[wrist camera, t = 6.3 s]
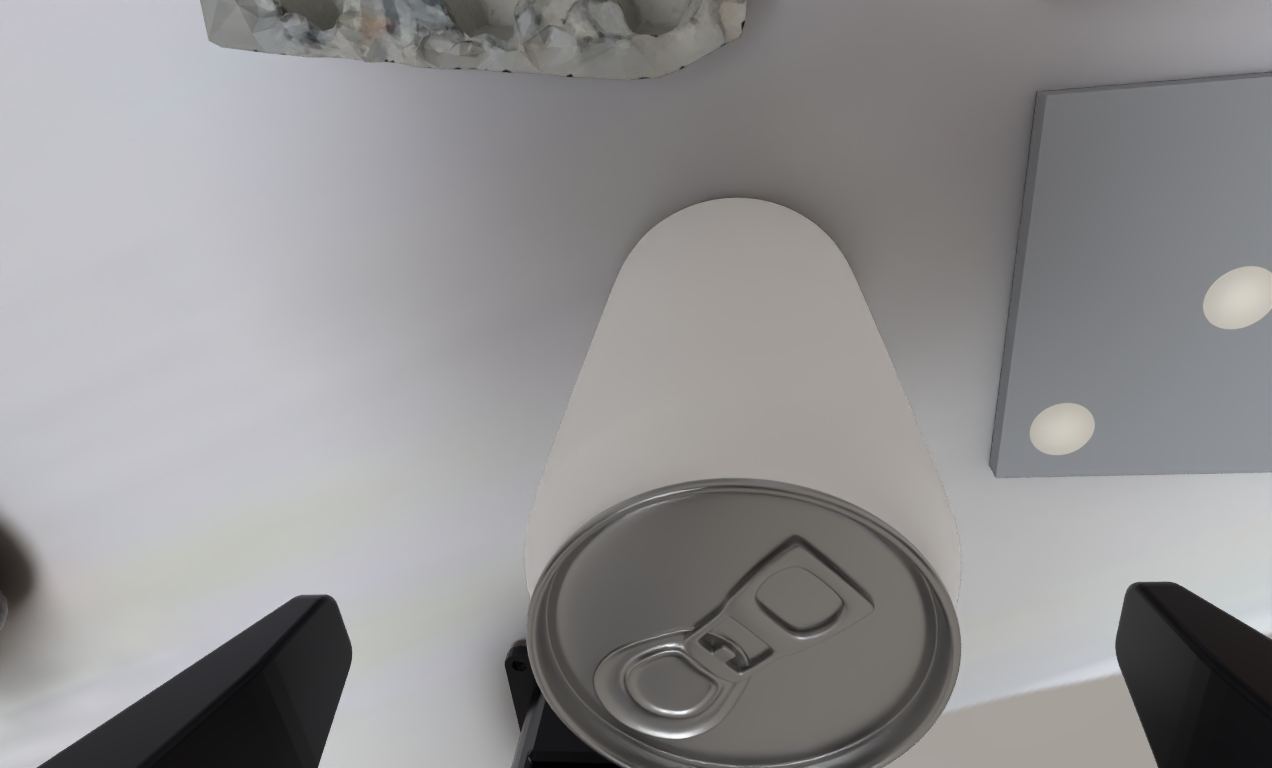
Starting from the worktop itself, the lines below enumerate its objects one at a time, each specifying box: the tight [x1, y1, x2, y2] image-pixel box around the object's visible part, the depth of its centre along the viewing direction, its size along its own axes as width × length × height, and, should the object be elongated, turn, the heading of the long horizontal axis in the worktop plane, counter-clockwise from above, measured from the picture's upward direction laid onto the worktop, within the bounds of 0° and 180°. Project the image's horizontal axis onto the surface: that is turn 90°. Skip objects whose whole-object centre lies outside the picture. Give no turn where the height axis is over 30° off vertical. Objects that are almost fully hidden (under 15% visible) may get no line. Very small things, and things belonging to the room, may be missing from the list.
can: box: [524, 198, 961, 768], centre depth 15 cm, size 6×6×12 cm
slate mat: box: [989, 72, 1272, 478], centre depth 19 cm, size 10×10×1 cm
